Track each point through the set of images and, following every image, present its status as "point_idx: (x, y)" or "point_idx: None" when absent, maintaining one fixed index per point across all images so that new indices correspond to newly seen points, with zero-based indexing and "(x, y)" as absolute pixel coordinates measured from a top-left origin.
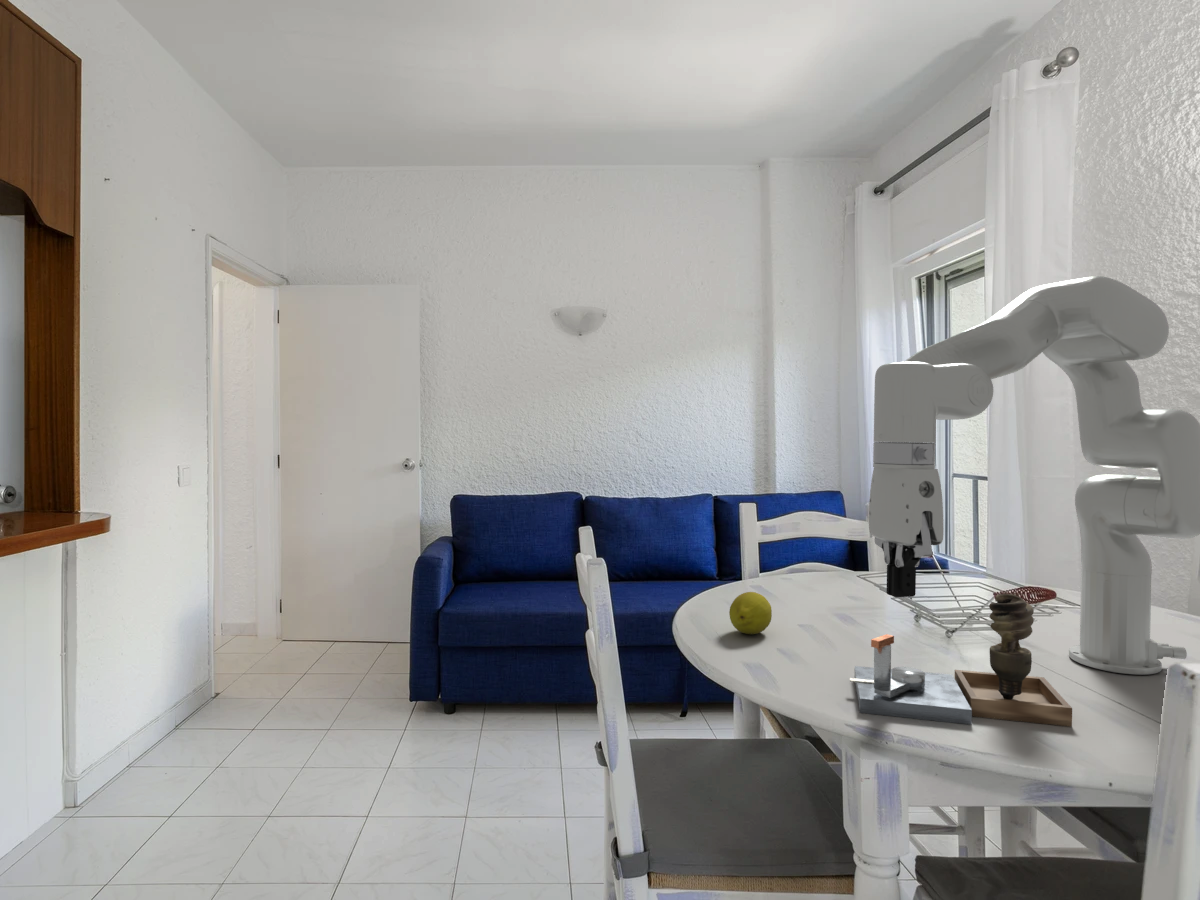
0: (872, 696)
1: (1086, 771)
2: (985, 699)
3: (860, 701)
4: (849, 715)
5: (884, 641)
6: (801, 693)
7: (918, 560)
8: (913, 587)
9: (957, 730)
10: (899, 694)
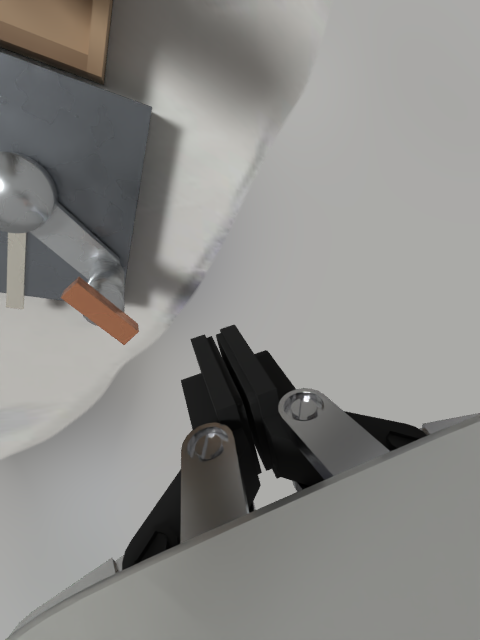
0: None
1: (324, 5)
2: (104, 40)
3: None
4: (134, 315)
5: (116, 312)
6: (44, 373)
7: (368, 419)
8: (267, 352)
9: (178, 154)
10: None
